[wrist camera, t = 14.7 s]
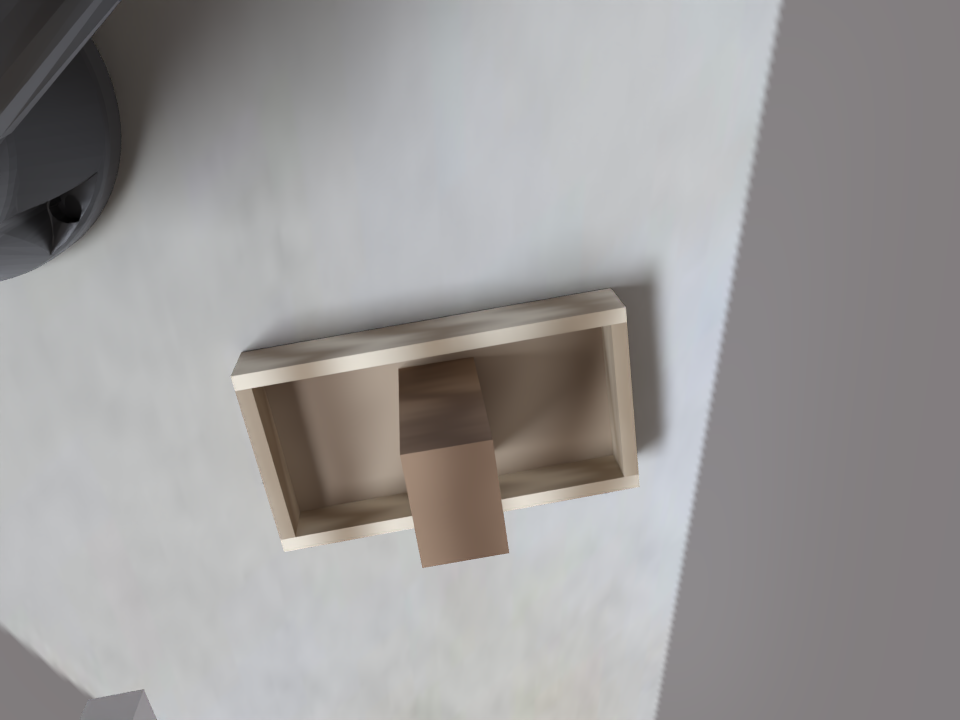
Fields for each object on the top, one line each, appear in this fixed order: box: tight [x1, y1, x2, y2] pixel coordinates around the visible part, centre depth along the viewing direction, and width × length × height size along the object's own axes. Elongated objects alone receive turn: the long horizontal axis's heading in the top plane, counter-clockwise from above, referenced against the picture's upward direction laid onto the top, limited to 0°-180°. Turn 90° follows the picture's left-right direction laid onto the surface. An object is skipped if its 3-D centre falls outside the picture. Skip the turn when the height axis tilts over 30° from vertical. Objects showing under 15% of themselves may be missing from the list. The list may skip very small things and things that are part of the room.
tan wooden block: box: [398, 357, 509, 568], centre depth 39 cm, size 4×6×9 cm, turn 7°
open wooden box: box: [231, 288, 640, 552], centre depth 43 cm, size 20×11×3 cm, turn 98°
